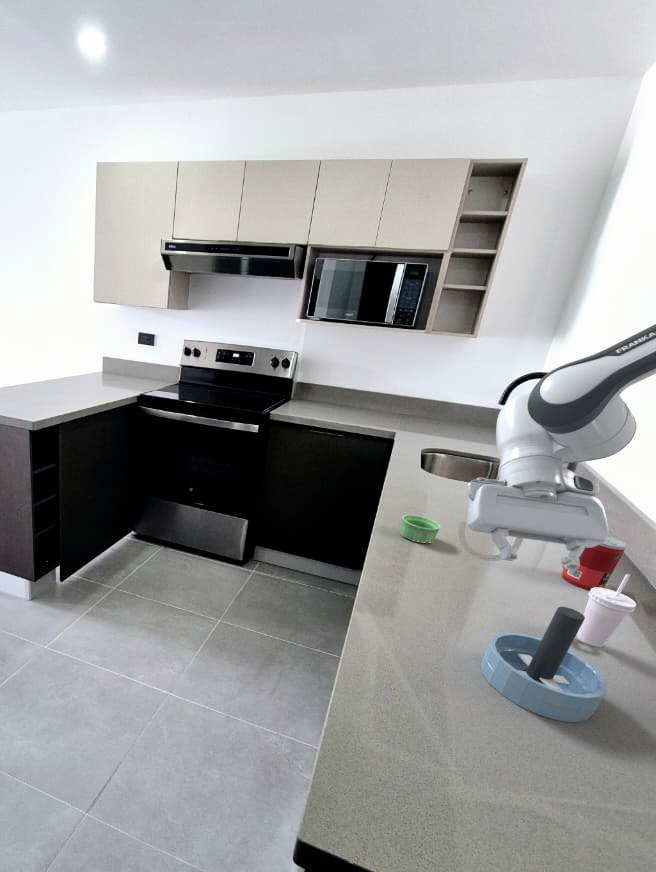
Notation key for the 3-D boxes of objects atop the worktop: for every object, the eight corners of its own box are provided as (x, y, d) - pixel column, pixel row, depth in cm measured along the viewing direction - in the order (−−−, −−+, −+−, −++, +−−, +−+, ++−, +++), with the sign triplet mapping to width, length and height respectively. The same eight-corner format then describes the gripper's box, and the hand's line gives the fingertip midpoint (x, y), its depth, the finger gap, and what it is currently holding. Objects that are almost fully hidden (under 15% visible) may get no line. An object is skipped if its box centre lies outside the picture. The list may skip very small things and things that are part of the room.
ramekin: (398, 526, 132) (403, 511, 130) (435, 536, 129) (440, 520, 127) (396, 538, 124) (401, 522, 122) (435, 548, 121) (441, 532, 119)
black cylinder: (543, 670, 79) (580, 600, 74) (580, 709, 71) (624, 634, 66) (491, 663, 79) (523, 593, 74) (522, 702, 71) (561, 626, 66)
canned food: (605, 595, 108) (629, 550, 104) (561, 582, 112) (583, 537, 107) (600, 582, 114) (623, 539, 110) (559, 570, 118) (580, 527, 113)
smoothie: (619, 654, 87) (660, 584, 81) (589, 654, 86) (628, 584, 80) (586, 631, 93) (622, 565, 87) (558, 631, 91) (592, 564, 86)
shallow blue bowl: (573, 677, 79) (587, 651, 77) (605, 740, 67) (623, 712, 65) (473, 647, 84) (484, 622, 82) (486, 701, 71) (499, 673, 69)
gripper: (478, 466, 80) (483, 547, 75) (609, 485, 79) (624, 568, 74) (457, 484, 86) (461, 560, 81) (579, 501, 85) (591, 579, 80)
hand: (540, 564), depth 78 cm, fingers open, 8 cm apart
